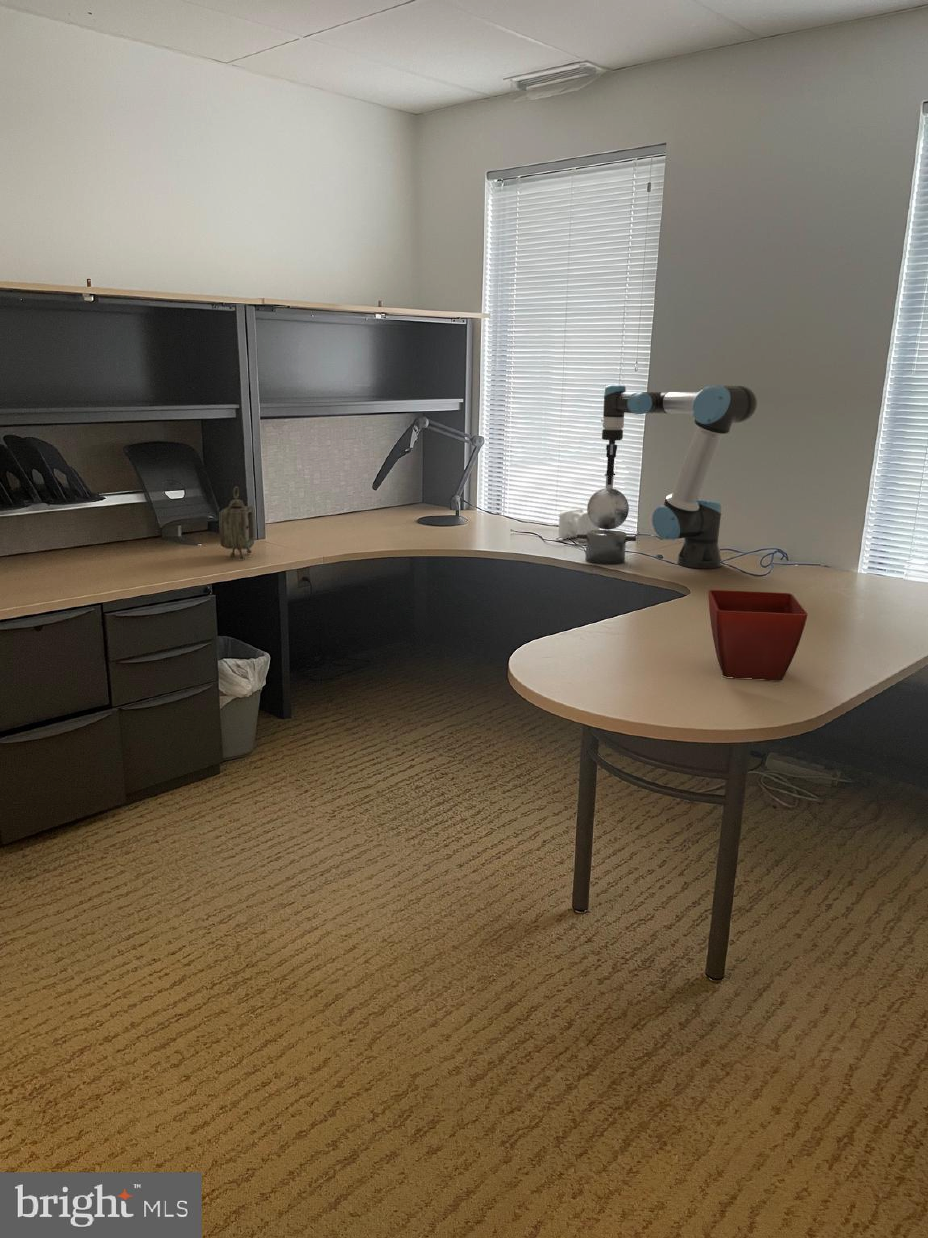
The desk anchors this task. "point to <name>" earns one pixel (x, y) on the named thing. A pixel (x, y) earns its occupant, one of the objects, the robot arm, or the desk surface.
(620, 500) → the lid
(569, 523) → the cable organizer
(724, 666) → the plant pot
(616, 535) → the pot
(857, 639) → the desk surface
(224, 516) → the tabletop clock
